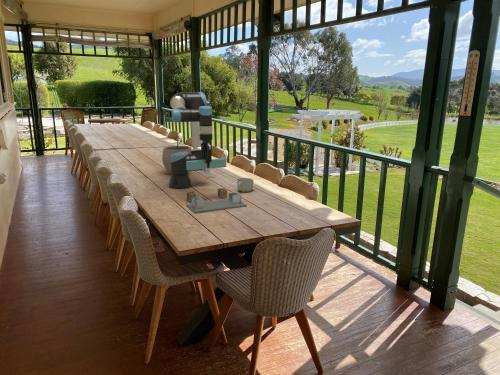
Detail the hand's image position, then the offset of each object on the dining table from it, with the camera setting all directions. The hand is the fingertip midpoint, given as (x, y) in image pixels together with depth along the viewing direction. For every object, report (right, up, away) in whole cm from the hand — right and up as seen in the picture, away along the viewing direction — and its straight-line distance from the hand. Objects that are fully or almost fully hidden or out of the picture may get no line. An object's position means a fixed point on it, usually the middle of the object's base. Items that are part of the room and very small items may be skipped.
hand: (206, 172), depth 232 cm
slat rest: (0, -16, +5) cm, 17 cm away
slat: (0, +3, -1) cm, 3 cm away
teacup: (+22, -12, +23) cm, 34 cm away
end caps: (+7, -20, -9) cm, 23 cm away
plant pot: (-30, +2, +73) cm, 79 cm away
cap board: (+7, -20, -9) cm, 23 cm away
